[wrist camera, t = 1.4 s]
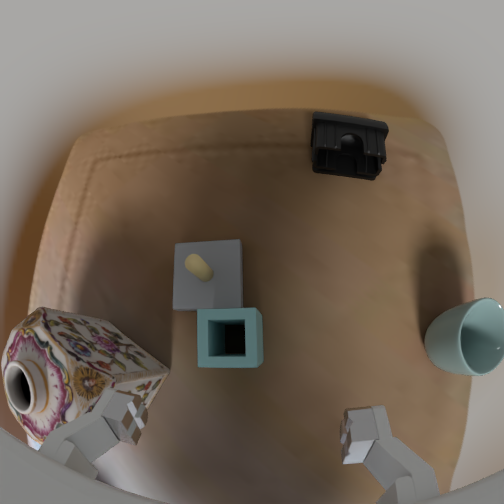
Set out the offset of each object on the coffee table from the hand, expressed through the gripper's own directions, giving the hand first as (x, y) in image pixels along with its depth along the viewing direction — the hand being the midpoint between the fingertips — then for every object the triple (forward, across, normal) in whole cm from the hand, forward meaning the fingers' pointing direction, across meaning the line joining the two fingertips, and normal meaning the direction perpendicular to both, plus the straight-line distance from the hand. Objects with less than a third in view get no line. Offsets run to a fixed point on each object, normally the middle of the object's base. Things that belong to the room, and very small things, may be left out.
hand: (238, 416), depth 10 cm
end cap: (+36, +10, +7) cm, 38 cm away
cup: (+19, +22, -13) cm, 32 cm away
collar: (+20, -4, -12) cm, 23 cm away
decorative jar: (+16, -20, -17) cm, 30 cm away
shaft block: (+24, -8, -6) cm, 26 cm away
